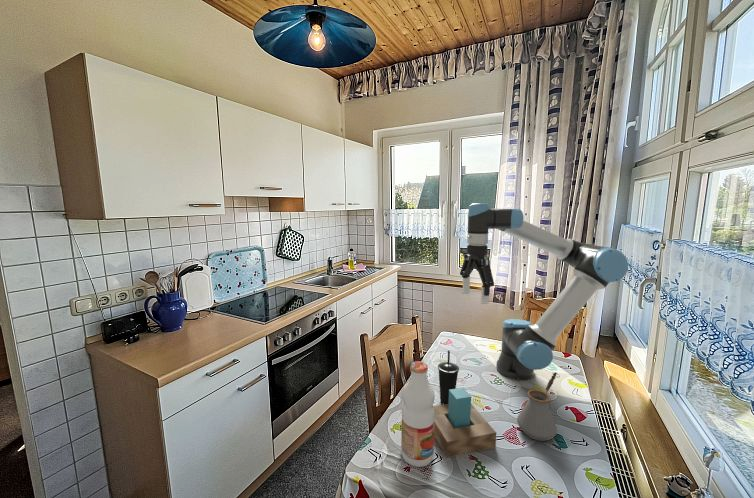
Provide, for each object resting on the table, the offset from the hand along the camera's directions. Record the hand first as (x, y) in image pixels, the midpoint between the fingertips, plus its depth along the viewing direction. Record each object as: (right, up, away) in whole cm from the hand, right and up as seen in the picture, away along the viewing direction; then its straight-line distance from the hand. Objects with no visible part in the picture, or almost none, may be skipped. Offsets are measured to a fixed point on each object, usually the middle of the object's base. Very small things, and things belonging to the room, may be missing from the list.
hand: (474, 298), depth 121 cm
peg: (-12, -40, -21) cm, 47 cm away
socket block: (-12, -40, -21) cm, 47 cm away
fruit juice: (-26, -41, -30) cm, 57 cm away
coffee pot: (+17, -40, -17) cm, 47 cm away
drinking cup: (-12, -38, -5) cm, 40 cm away
